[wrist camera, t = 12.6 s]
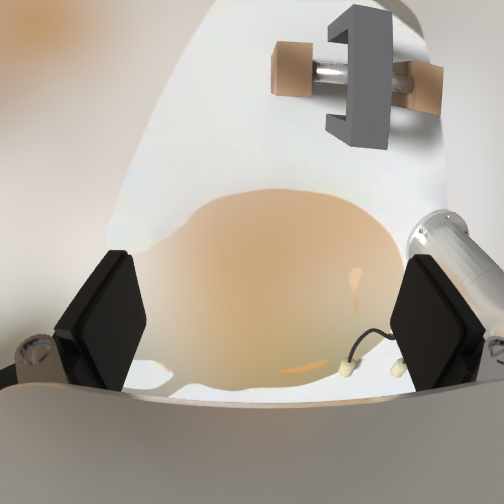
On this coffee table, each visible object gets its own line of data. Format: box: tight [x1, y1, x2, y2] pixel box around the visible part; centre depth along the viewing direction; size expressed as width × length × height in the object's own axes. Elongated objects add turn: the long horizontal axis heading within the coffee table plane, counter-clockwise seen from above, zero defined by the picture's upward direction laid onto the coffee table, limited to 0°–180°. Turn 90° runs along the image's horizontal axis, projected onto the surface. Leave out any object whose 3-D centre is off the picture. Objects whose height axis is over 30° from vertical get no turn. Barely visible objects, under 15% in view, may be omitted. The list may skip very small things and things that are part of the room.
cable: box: [338, 328, 407, 378], centre depth 59 cm, size 16×16×4 cm
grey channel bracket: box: [325, 4, 393, 150], centre depth 27 cm, size 13×4×11 cm, turn 0°
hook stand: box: [271, 41, 443, 116], centre depth 30 cm, size 5×16×14 cm, turn 90°
